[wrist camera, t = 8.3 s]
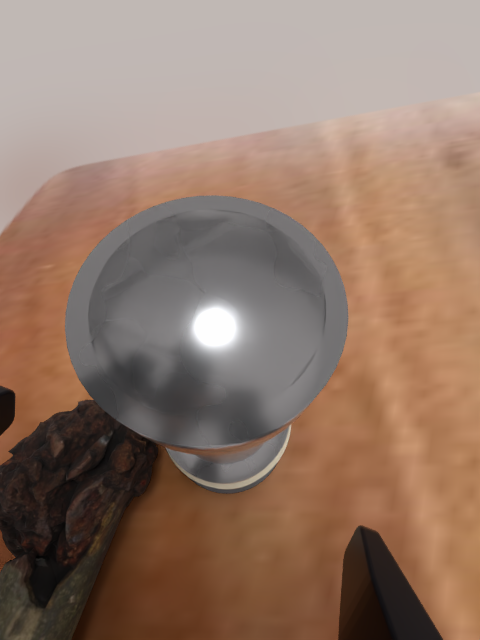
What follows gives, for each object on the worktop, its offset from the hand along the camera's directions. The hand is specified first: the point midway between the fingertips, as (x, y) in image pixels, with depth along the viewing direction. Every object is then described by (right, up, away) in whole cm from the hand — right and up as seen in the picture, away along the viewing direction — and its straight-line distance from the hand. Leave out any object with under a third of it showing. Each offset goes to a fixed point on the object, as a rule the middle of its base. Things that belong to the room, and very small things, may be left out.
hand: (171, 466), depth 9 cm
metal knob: (+1, -1, +9) cm, 9 cm away
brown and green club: (-8, -9, +11) cm, 16 cm away
